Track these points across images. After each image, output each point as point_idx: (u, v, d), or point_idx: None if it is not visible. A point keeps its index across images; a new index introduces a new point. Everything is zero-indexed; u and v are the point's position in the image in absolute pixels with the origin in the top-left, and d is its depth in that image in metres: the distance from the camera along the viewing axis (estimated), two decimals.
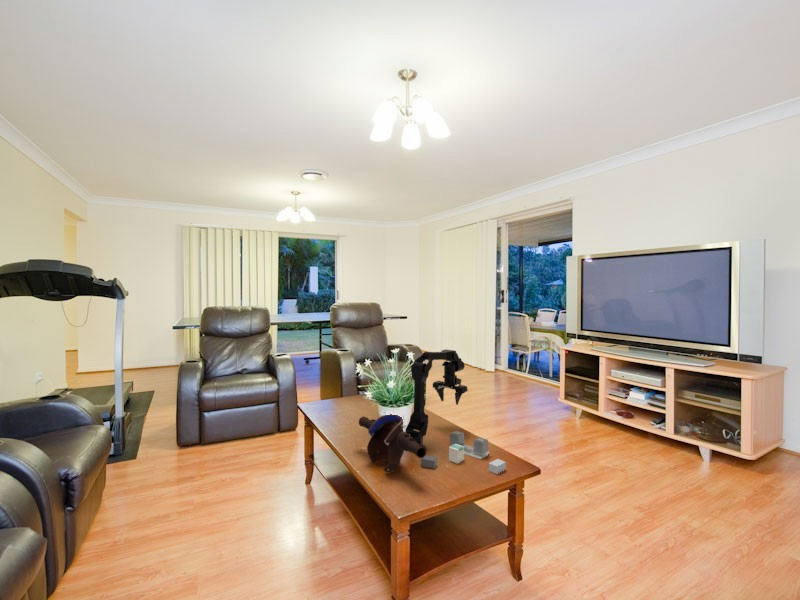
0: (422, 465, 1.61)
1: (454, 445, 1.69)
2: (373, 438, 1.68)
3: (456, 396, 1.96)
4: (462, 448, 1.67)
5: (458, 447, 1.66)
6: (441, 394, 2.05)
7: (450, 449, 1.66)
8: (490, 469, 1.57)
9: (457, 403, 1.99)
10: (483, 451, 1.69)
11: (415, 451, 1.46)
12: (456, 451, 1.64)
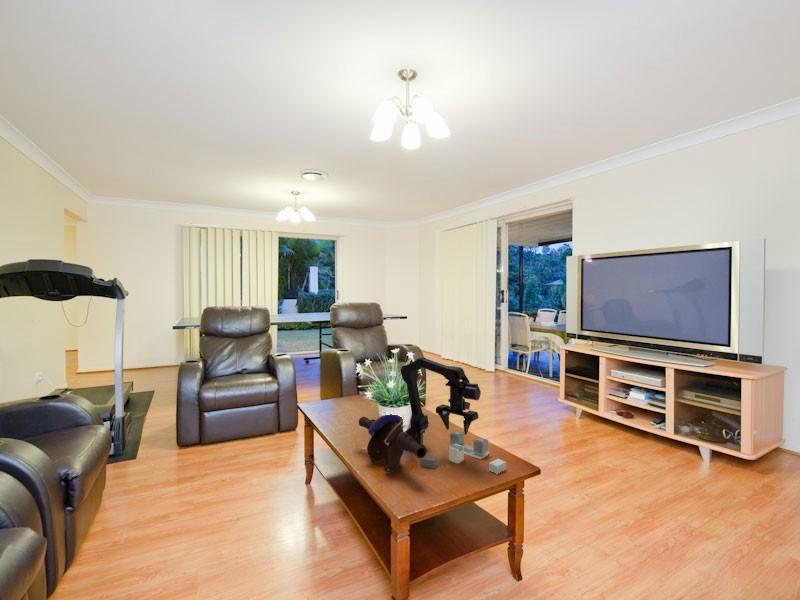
0: (422, 465, 1.61)
1: (454, 445, 1.68)
2: (373, 438, 1.68)
3: (465, 425, 1.62)
4: (462, 448, 1.67)
5: (458, 447, 1.66)
6: (446, 421, 1.70)
7: (450, 449, 1.66)
8: (490, 469, 1.57)
9: (466, 433, 1.65)
10: (483, 451, 1.69)
11: (415, 451, 1.46)
12: (456, 451, 1.64)
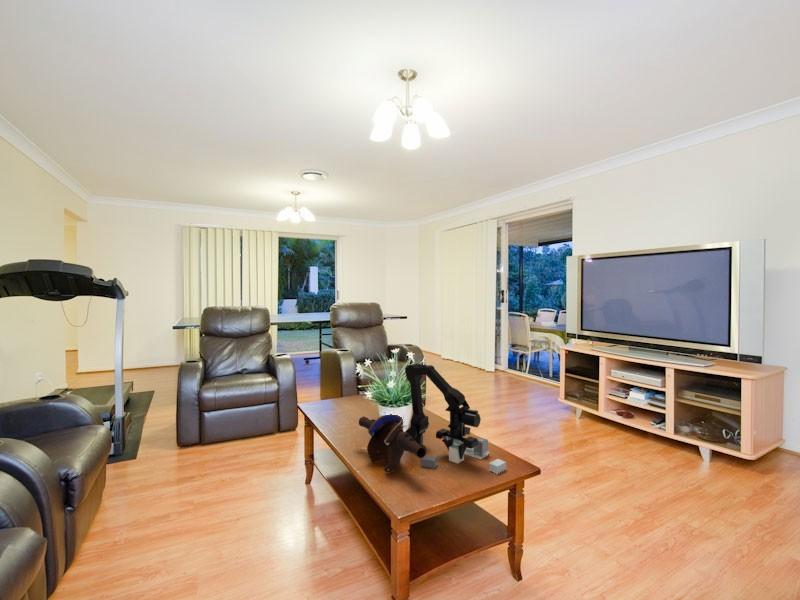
0: (422, 465, 1.61)
1: (454, 445, 1.69)
2: (373, 438, 1.68)
3: (460, 450, 1.63)
4: None
5: (458, 447, 1.66)
6: None
7: (450, 449, 1.66)
8: (490, 469, 1.57)
9: (461, 457, 1.65)
10: (483, 451, 1.69)
11: (415, 451, 1.46)
12: (456, 451, 1.64)
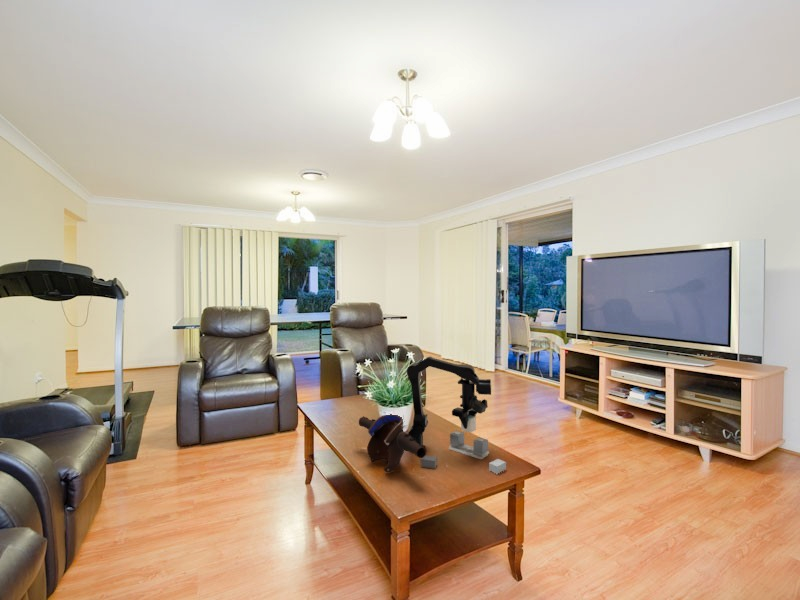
0: (422, 465, 1.61)
1: (470, 416, 1.76)
2: (373, 438, 1.68)
3: None
4: (468, 420, 1.73)
5: None
6: None
7: None
8: (490, 469, 1.57)
9: (464, 427, 1.73)
10: (483, 451, 1.69)
11: (415, 451, 1.46)
12: None
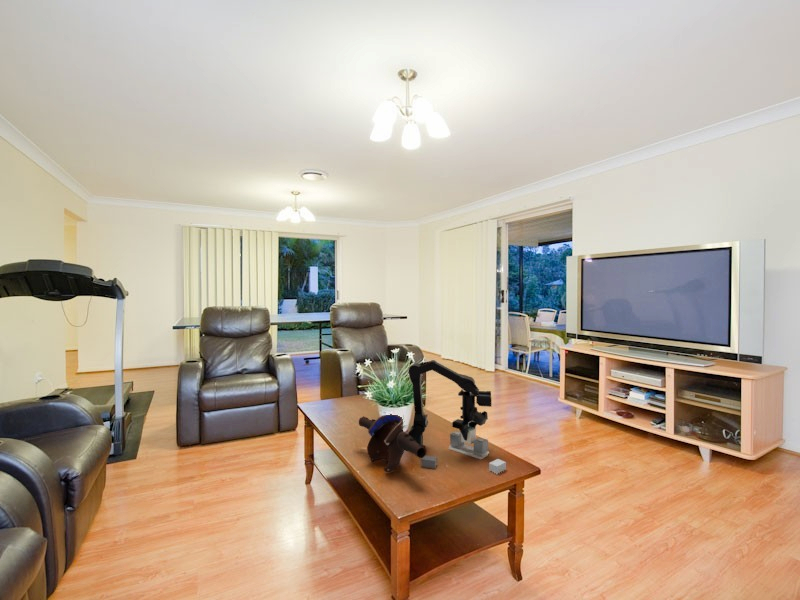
0: (422, 465, 1.61)
1: None
2: (373, 438, 1.68)
3: None
4: (468, 431, 1.73)
5: None
6: None
7: None
8: (490, 469, 1.57)
9: (464, 438, 1.74)
10: (483, 451, 1.69)
11: (415, 451, 1.46)
12: None
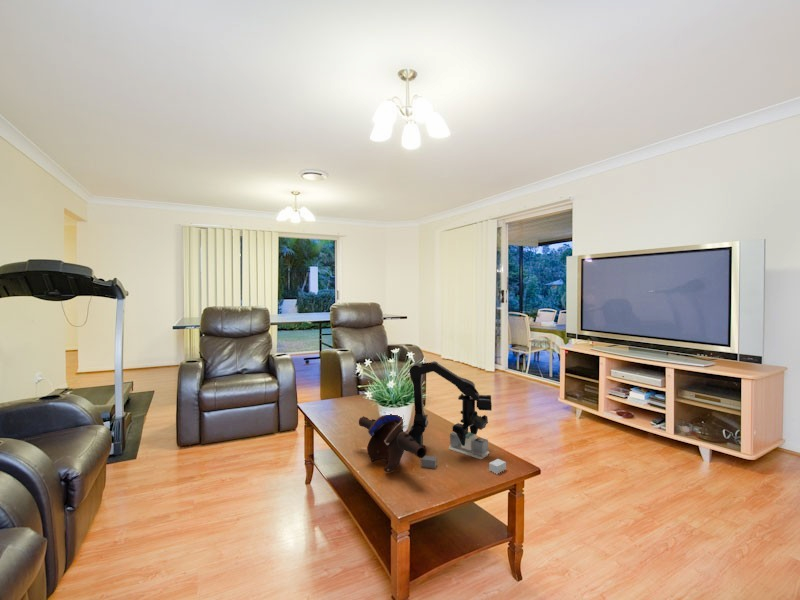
0: (422, 465, 1.61)
1: (470, 433, 1.77)
2: (373, 438, 1.68)
3: None
4: (468, 437, 1.73)
5: None
6: (472, 431, 1.80)
7: None
8: (490, 469, 1.57)
9: (462, 444, 1.72)
10: (483, 451, 1.69)
11: (415, 451, 1.46)
12: None
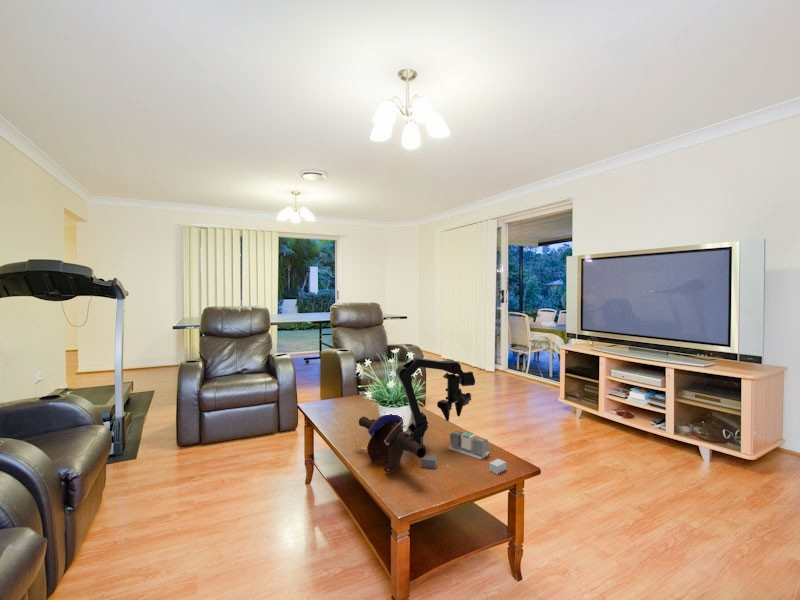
0: (422, 465, 1.61)
1: (470, 433, 1.77)
2: (373, 438, 1.68)
3: None
4: (468, 437, 1.73)
5: (466, 434, 1.75)
6: (457, 408, 1.90)
7: None
8: (490, 469, 1.57)
9: (446, 419, 1.82)
10: (483, 451, 1.69)
11: (415, 451, 1.46)
12: None
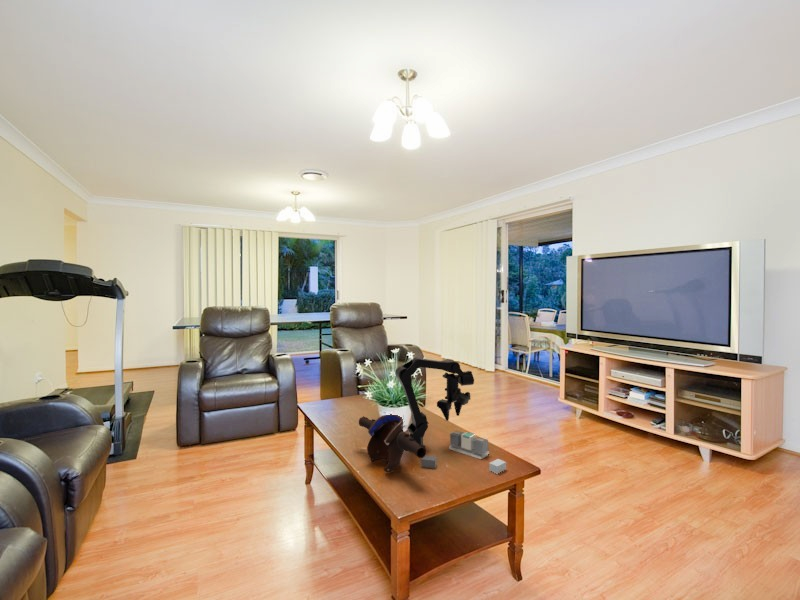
0: (422, 465, 1.61)
1: (470, 433, 1.77)
2: (373, 438, 1.68)
3: None
4: (468, 437, 1.73)
5: (466, 434, 1.75)
6: (456, 407, 1.90)
7: None
8: (490, 469, 1.57)
9: (446, 419, 1.83)
10: (483, 451, 1.69)
11: (415, 451, 1.46)
12: None
